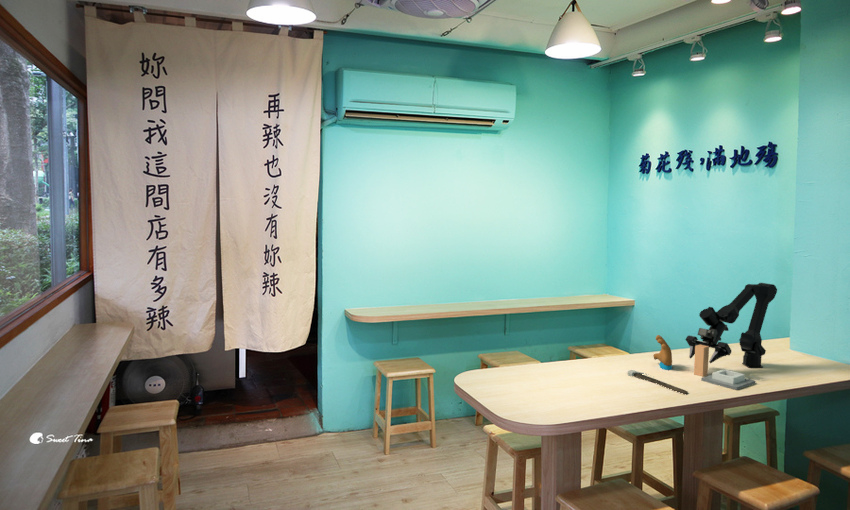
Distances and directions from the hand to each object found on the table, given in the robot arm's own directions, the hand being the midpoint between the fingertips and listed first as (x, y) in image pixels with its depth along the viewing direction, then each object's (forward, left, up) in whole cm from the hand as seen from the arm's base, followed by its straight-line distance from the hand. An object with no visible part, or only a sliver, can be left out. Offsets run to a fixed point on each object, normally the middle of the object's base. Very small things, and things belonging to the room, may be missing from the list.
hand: (699, 360), depth 252 cm
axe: (+21, +11, -8) cm, 25 cm away
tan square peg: (-1, -1, -7) cm, 7 cm away
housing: (-8, +9, -7) cm, 14 cm away
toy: (+11, -13, -7) cm, 18 cm away
